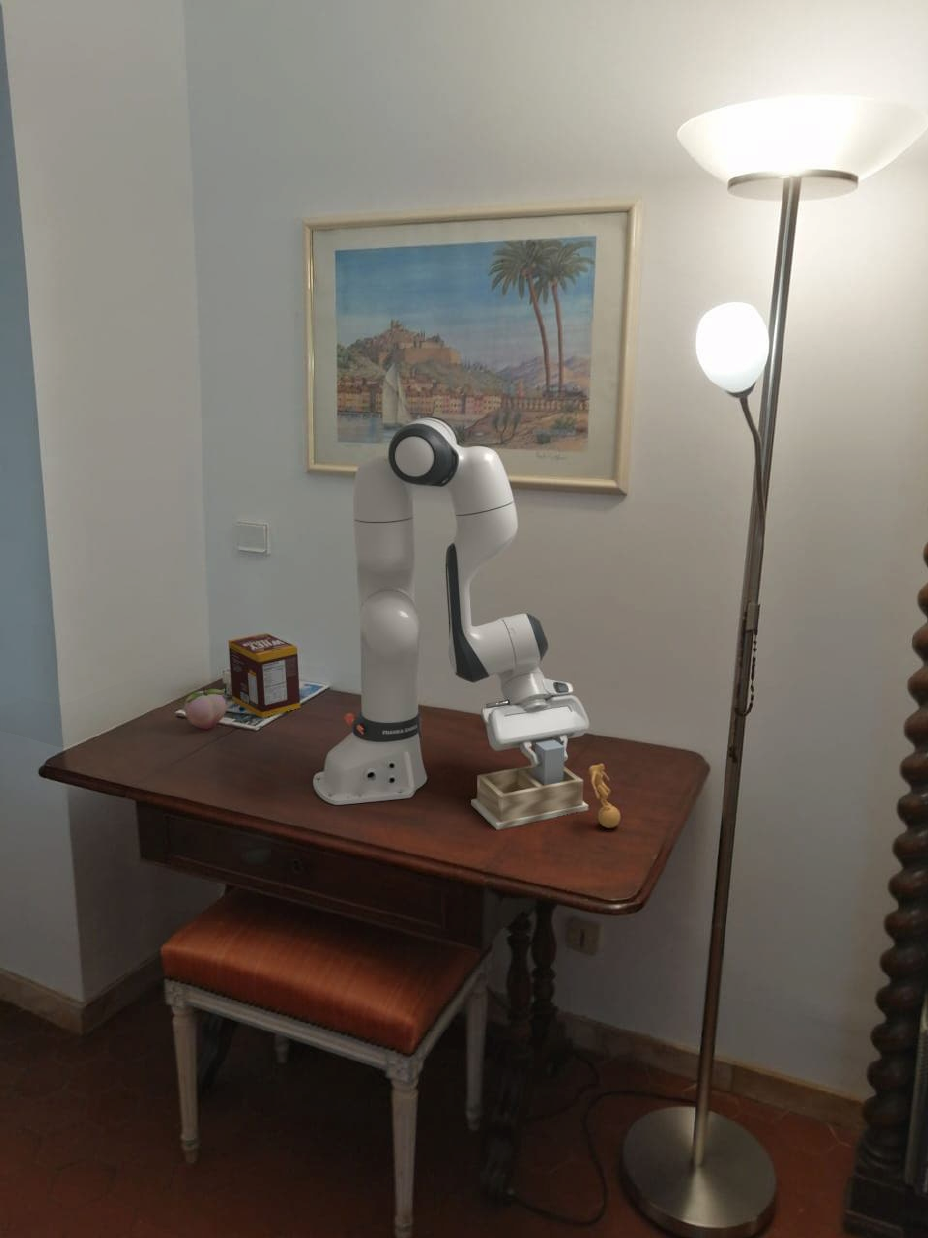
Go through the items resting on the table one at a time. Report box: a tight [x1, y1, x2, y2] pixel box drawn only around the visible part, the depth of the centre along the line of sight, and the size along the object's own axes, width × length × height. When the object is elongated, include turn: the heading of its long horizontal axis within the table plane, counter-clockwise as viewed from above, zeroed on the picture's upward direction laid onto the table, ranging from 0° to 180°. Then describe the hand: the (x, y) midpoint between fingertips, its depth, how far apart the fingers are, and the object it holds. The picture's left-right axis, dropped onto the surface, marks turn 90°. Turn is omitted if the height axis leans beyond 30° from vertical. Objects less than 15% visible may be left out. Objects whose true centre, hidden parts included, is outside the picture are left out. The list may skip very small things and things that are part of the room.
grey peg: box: [534, 739, 565, 786], centre depth 182 cm, size 4×4×8 cm
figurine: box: [588, 763, 621, 829], centre depth 175 cm, size 8×6×12 cm
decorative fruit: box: [184, 687, 228, 730], centre depth 218 cm, size 9×8×10 cm
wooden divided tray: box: [470, 764, 589, 831], centre depth 182 cm, size 19×11×6 cm, turn 114°
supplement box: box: [228, 632, 301, 719], centre depth 233 cm, size 10×15×16 cm
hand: (550, 763), depth 182 cm, fingers closed on grey peg, 4 cm apart
